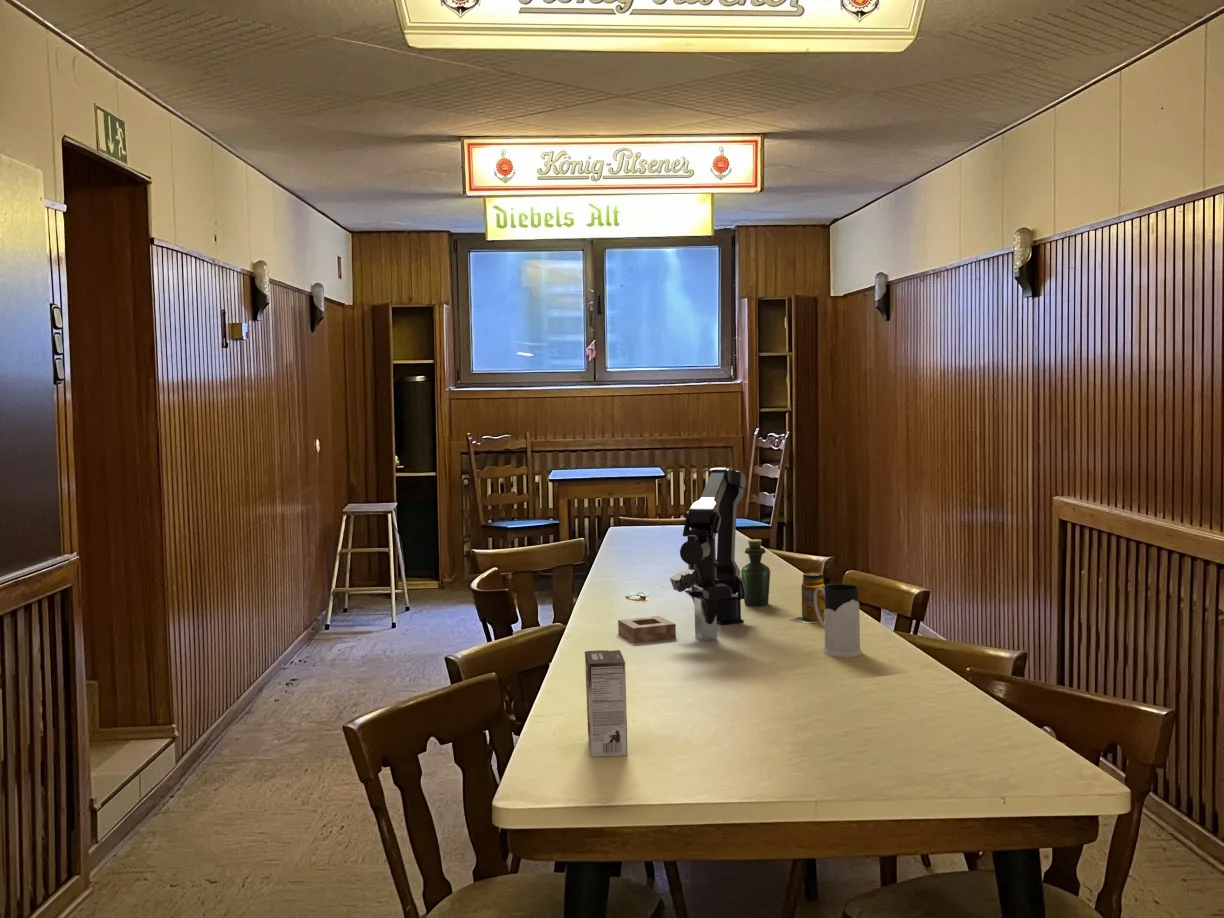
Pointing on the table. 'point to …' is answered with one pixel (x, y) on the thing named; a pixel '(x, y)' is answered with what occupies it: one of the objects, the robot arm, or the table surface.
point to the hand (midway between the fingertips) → (705, 621)
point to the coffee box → (606, 703)
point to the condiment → (811, 598)
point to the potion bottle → (756, 576)
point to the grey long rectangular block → (703, 622)
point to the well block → (646, 629)
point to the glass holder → (840, 620)
